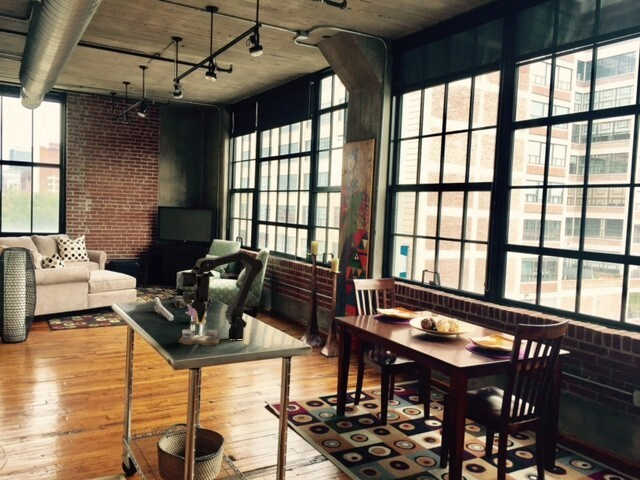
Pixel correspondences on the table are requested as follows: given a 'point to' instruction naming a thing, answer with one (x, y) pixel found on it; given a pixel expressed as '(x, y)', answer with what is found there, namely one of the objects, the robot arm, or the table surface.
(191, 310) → the lily
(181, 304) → the book
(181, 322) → the table surface
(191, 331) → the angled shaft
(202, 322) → the yellow knobbed block
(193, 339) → the base plate
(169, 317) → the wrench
